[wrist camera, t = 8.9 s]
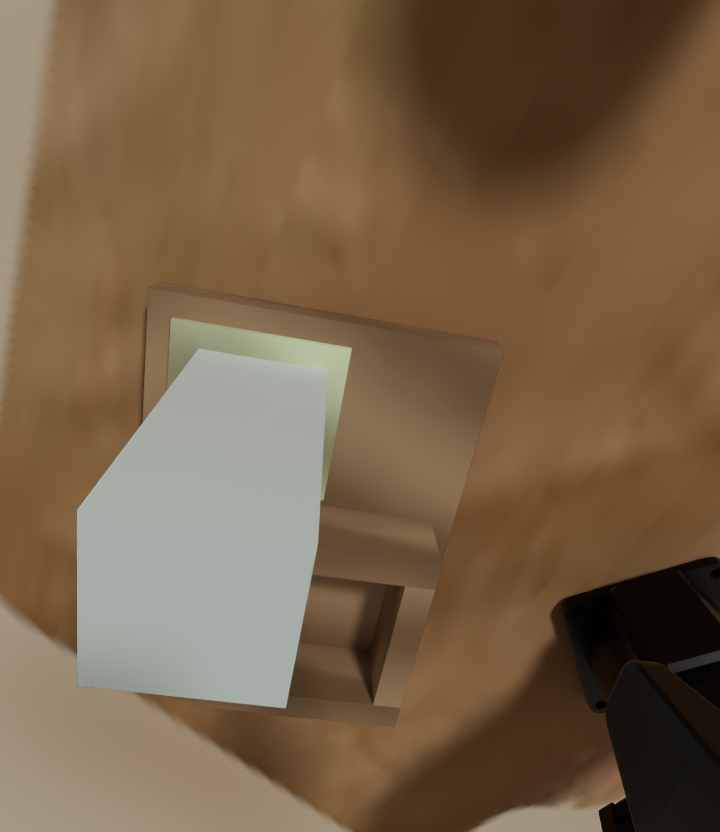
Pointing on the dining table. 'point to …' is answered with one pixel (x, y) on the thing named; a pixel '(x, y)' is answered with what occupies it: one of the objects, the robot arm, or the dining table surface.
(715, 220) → the dining table surface
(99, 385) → the dining table surface
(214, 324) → the brown slotted holder
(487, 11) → the dining table surface
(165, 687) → the block
